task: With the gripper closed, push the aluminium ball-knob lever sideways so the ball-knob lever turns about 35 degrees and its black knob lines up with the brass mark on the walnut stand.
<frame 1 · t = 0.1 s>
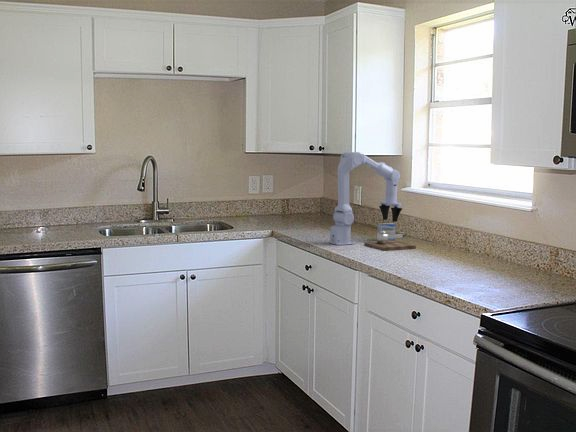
hand: (389, 220, 329), 10 cm above the worktop, tool pointing down, fingers open, 7 cm apart
ball-knob lever: (391, 236, 314), point 4 cm above the worktop, hinge at 0.0°
stand: (389, 246, 312), on the worktop
medicine box: (385, 241, 330), on the worktop
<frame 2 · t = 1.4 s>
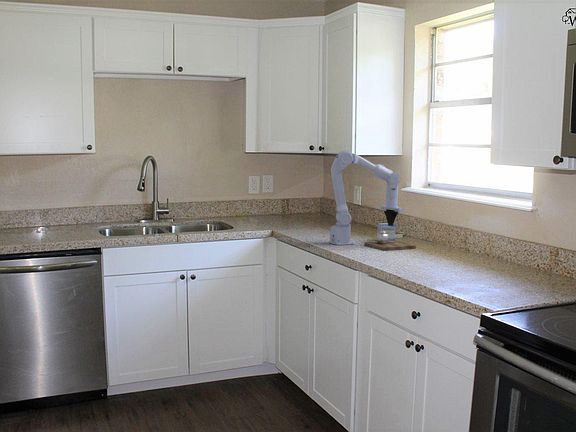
hand: (390, 225, 318), 9 cm above the worktop, tool pointing down, fingers closed
nothing on the worktop moved.
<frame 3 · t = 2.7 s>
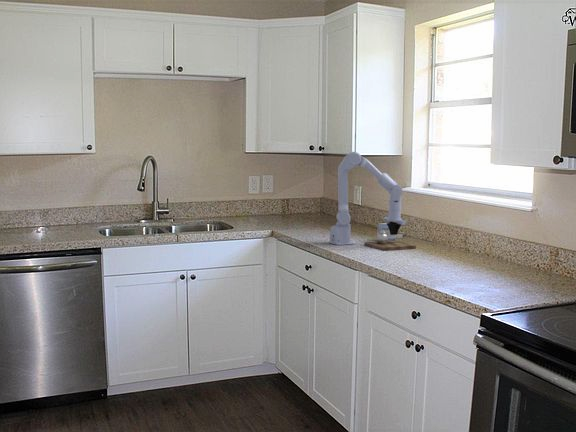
hand: (393, 238, 317), 3 cm above the worktop, tool pointing down, fingers closed, pressing on ball-knob lever
ball-knob lever: (391, 236, 314), point 4 cm above the worktop, hinge at 0.0°, touching gripper
everything else where it was.
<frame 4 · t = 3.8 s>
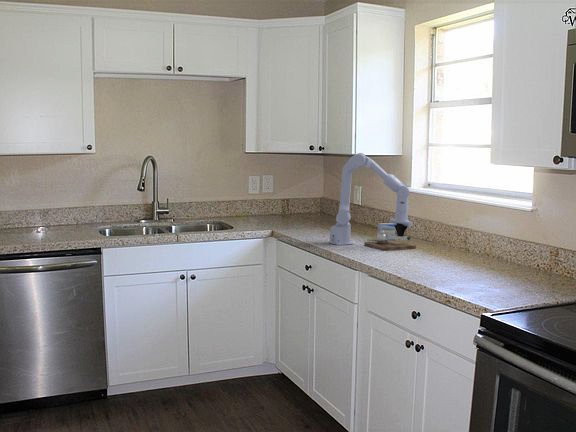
hand: (400, 239, 312), 3 cm above the worktop, tool pointing down, fingers closed, pressing on ball-knob lever
ball-knob lever: (393, 237, 311), point 4 cm above the worktop, hinge at -37.5°, touching gripper
everything else where it was.
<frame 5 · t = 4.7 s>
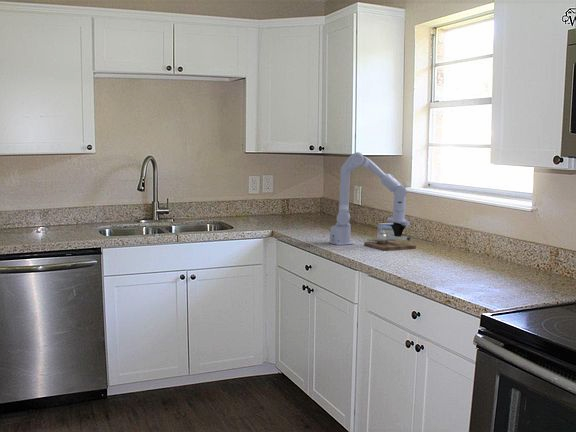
hand: (397, 239, 314), 3 cm above the worktop, tool pointing down, fingers closed
ball-knob lever: (393, 238, 310), point 4 cm above the worktop, hinge at -41.1°
everything else where it was.
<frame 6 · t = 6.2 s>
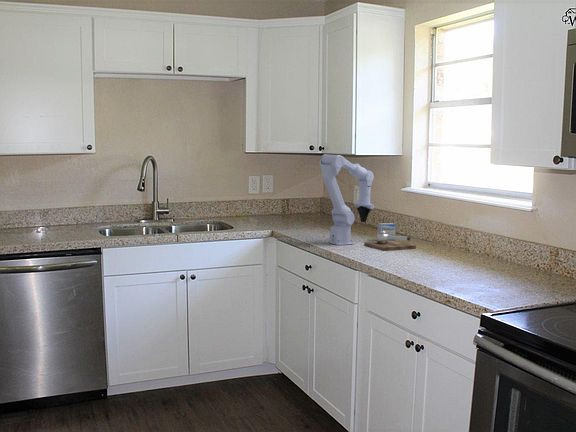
hand: (363, 222, 326), 9 cm above the worktop, tool pointing down, fingers closed
nothing on the worktop moved.
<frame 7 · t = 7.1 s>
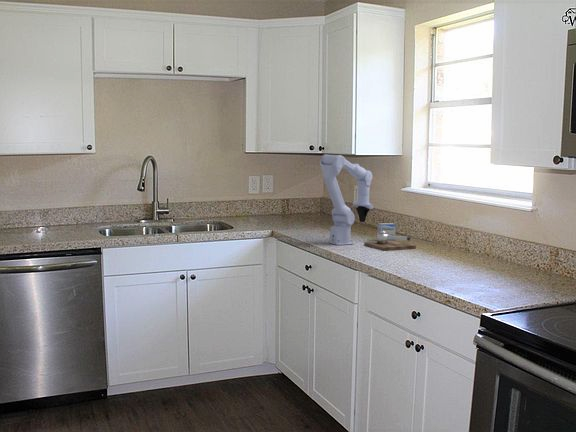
hand: (362, 221, 327), 9 cm above the worktop, tool pointing down, fingers closed
nothing on the worktop moved.
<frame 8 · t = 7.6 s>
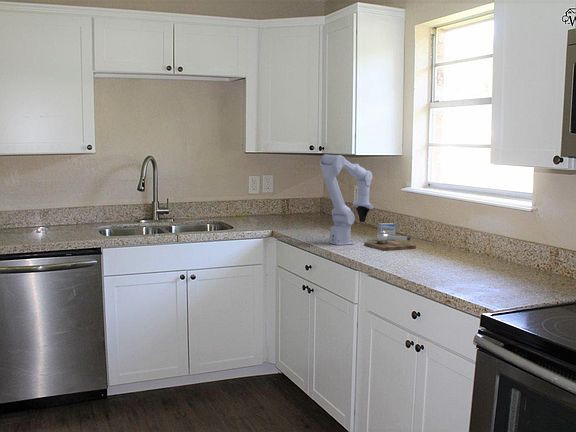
hand: (362, 221, 327), 9 cm above the worktop, tool pointing down, fingers closed
nothing on the worktop moved.
at the end: ball-knob lever at -41° (first picture: +0°); medicine box moved 0.3 cm from its start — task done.
